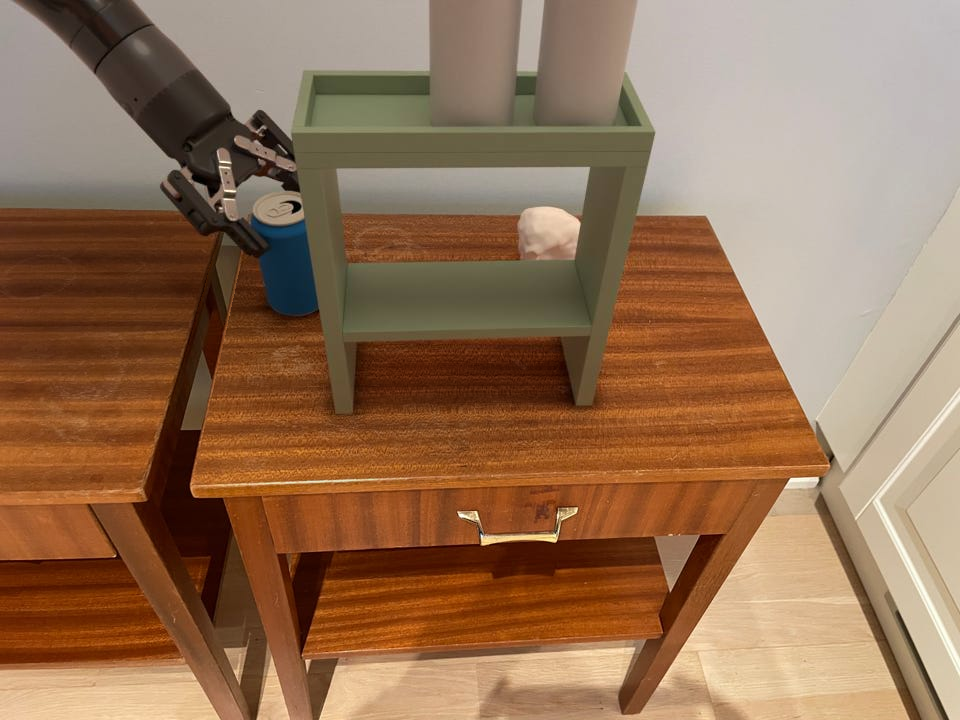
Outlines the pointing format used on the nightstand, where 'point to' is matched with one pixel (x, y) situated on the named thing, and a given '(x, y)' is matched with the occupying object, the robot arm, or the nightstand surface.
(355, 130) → the can shelf
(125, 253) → the nightstand surface
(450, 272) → the shelf stand
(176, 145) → the robot arm
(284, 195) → the beverage can
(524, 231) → the pale pink lump
